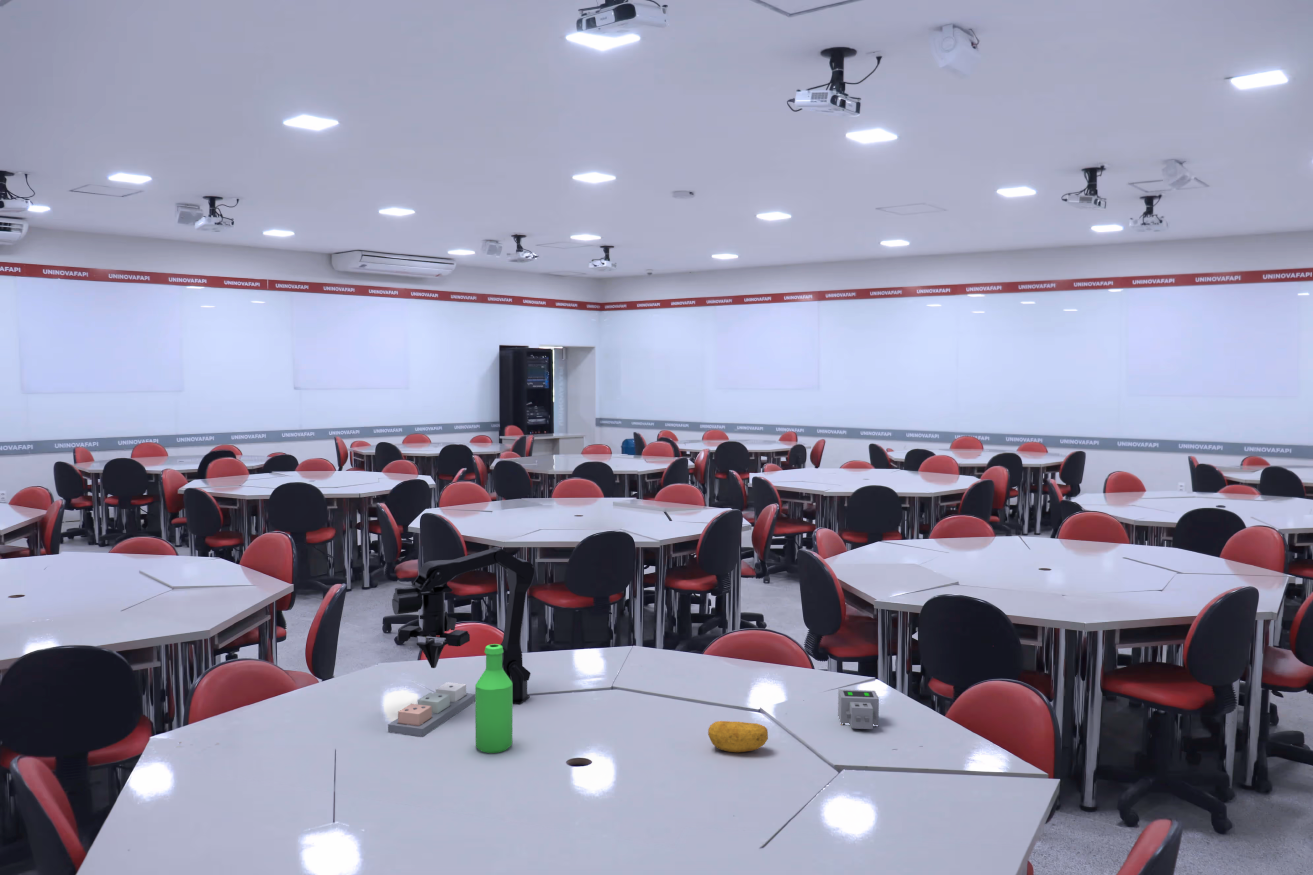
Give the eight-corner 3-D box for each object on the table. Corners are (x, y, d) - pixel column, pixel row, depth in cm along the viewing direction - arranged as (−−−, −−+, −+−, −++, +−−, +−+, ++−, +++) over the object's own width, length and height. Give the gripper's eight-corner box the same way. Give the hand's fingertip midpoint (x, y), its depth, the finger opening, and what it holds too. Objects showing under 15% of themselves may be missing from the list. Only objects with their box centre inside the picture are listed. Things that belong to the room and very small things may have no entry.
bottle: (468, 750, 207) (467, 647, 206) (491, 737, 214) (491, 638, 213) (497, 757, 203) (497, 652, 202) (519, 744, 210) (519, 643, 209)
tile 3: (431, 717, 222) (431, 705, 222) (418, 725, 217) (418, 713, 217) (411, 714, 224) (411, 703, 224) (398, 722, 218) (398, 711, 218)
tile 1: (466, 694, 240) (466, 683, 240) (455, 702, 234) (455, 690, 234) (447, 692, 241) (447, 681, 241) (435, 699, 236) (435, 688, 235)
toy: (843, 704, 219) (836, 685, 234) (843, 733, 220) (836, 712, 234) (882, 705, 218) (873, 686, 233) (882, 735, 219) (872, 713, 234)
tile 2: (449, 705, 231) (449, 694, 231) (437, 713, 225) (437, 701, 225) (429, 703, 233) (429, 692, 233) (417, 710, 227) (417, 699, 227)
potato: (767, 759, 203) (767, 729, 203) (706, 754, 205) (706, 725, 205) (768, 747, 210) (768, 718, 210) (709, 742, 212) (709, 714, 212)
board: (475, 700, 241) (475, 693, 241) (422, 736, 215) (422, 728, 215) (443, 697, 243) (443, 690, 243) (387, 731, 218) (387, 724, 218)
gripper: (479, 605, 233) (479, 662, 234) (419, 600, 238) (419, 655, 239) (459, 615, 222) (459, 674, 223) (396, 609, 228) (396, 667, 228)
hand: (433, 667), depth 229 cm, fingers closed
